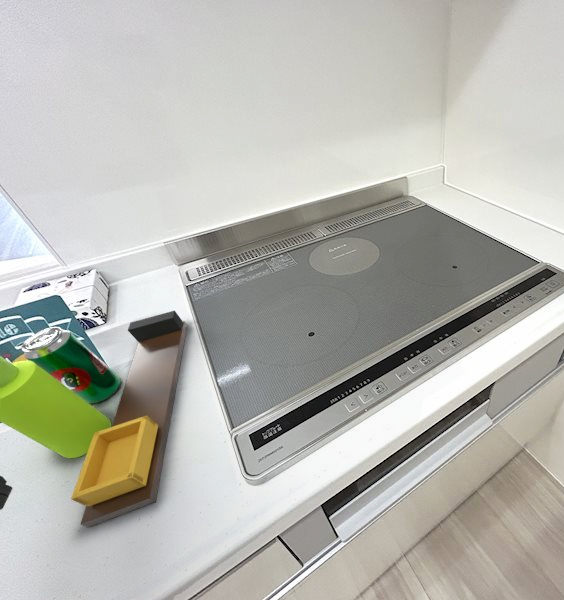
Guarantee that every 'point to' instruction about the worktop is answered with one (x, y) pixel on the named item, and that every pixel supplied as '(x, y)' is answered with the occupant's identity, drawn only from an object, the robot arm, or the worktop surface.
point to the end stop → (155, 326)
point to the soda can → (71, 364)
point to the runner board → (145, 402)
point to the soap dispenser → (47, 409)
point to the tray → (116, 461)
